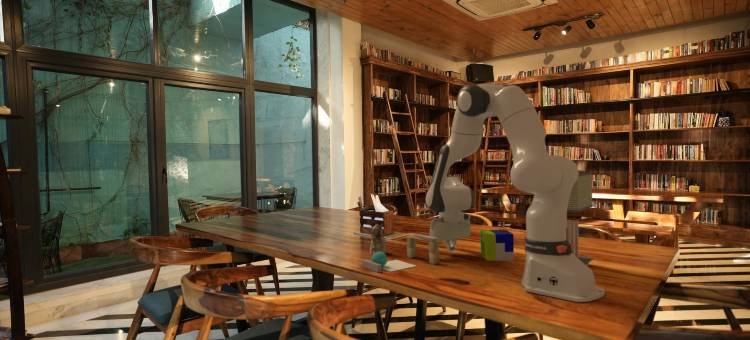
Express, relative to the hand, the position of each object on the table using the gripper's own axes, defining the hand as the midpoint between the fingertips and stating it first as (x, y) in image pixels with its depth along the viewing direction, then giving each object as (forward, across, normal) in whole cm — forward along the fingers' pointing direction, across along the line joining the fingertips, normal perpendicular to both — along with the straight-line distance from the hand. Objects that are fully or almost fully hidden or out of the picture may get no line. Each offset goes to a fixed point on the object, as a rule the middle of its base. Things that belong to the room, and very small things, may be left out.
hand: (450, 250), depth 169 cm
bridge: (+2, -15, 0) cm, 15 cm away
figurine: (+2, -21, +21) cm, 30 cm away
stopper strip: (+2, -38, +1) cm, 38 cm away
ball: (-1, -34, +2) cm, 34 cm away
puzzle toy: (+2, +10, -15) cm, 18 cm away
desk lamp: (+2, +17, -39) cm, 43 cm away
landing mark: (+2, -29, 0) cm, 29 cm away
